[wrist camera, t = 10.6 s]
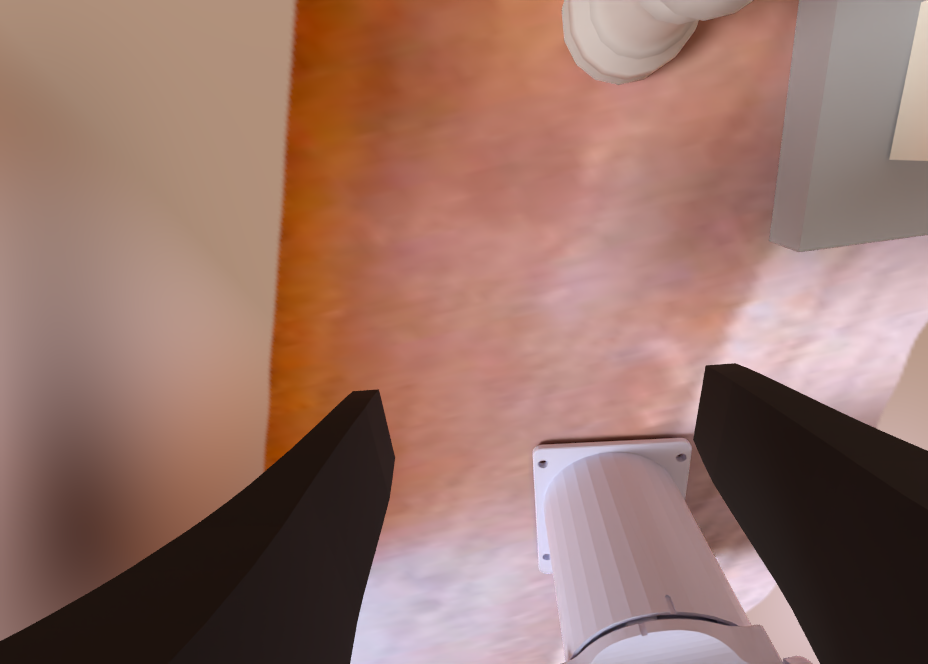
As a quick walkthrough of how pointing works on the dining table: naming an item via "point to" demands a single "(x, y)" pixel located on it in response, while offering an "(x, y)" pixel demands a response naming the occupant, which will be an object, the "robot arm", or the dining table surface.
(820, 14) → the slate block
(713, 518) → the dining table surface
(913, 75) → the cream cube
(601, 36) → the rook chess piece
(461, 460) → the dining table surface
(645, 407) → the dining table surface
